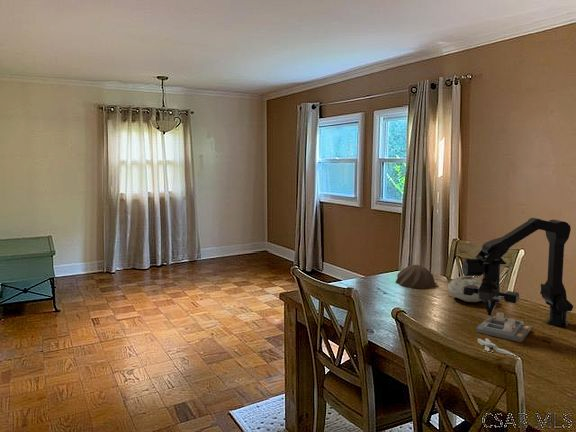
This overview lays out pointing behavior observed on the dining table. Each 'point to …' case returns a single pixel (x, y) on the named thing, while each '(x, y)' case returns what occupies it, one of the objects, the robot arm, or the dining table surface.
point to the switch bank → (496, 329)
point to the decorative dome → (415, 277)
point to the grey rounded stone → (460, 283)
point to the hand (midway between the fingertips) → (489, 315)
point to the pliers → (493, 346)
